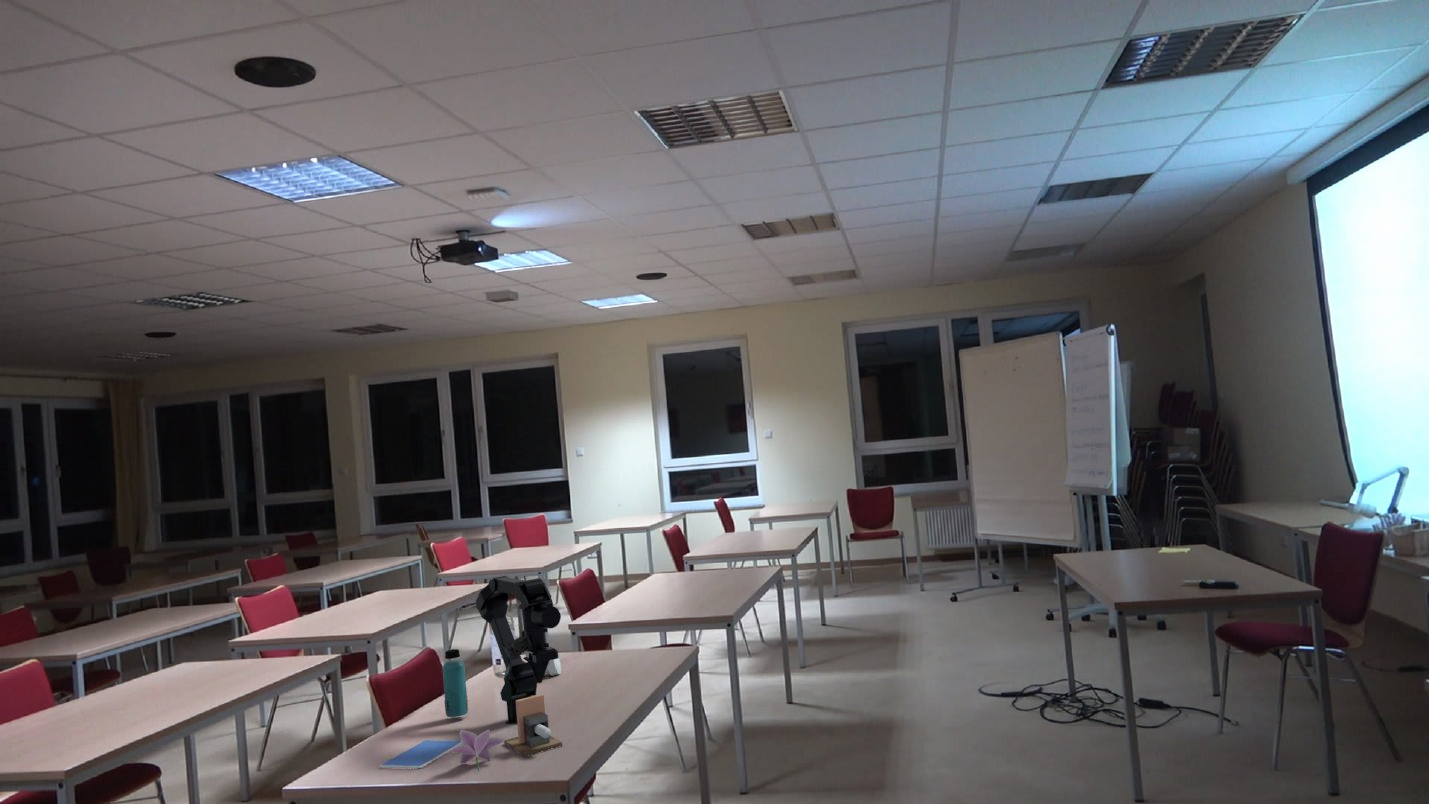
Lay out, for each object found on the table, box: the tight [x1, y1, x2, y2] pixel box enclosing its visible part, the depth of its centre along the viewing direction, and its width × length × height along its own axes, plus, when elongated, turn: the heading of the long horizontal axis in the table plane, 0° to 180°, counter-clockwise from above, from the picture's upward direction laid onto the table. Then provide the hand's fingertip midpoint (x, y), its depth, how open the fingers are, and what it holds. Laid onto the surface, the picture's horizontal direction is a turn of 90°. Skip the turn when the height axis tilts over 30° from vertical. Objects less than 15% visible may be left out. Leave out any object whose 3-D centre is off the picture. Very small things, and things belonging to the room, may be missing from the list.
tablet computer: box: [378, 739, 463, 770], centre depth 224 cm, size 19×13×1 cm, turn 163°
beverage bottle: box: [441, 648, 469, 718], centre depth 255 cm, size 6×7×20 cm
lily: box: [448, 729, 506, 772], centre depth 211 cm, size 12×12×10 cm
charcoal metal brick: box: [523, 712, 550, 748], centre depth 221 cm, size 4×5×7 cm
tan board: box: [503, 735, 563, 758], centre depth 224 cm, size 14×10×1 cm
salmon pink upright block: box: [516, 693, 552, 744], centre depth 220 cm, size 10×7×10 cm
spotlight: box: [545, 658, 562, 677], centre depth 298 cm, size 8×11×8 cm
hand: (539, 682), depth 239 cm, fingers closed
